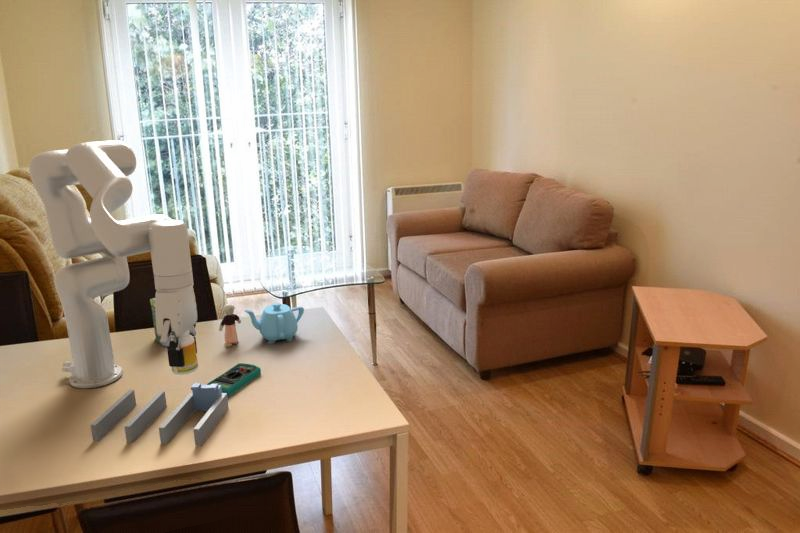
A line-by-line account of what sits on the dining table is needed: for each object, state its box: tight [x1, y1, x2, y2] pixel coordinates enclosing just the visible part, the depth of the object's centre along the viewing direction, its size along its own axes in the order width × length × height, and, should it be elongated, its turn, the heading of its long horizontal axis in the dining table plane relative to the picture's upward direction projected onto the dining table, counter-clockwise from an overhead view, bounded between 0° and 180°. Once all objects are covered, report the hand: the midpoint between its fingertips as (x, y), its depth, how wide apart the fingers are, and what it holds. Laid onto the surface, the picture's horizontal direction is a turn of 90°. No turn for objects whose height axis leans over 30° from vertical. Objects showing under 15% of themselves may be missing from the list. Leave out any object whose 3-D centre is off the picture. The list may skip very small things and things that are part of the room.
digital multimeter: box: [205, 362, 262, 399], centre depth 156 cm, size 7×15×3 cm, turn 158°
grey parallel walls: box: [89, 382, 229, 447], centre depth 136 cm, size 24×16×7 cm, turn 84°
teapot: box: [243, 302, 305, 344], centre depth 183 cm, size 13×14×11 cm
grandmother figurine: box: [218, 303, 242, 348], centre depth 180 cm, size 8×4×13 cm, turn 154°
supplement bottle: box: [170, 329, 199, 376], centre depth 129 cm, size 5×5×10 cm
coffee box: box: [149, 297, 165, 347], centre depth 182 cm, size 8×3×13 cm, turn 34°
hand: (183, 359), depth 130 cm, fingers closed on supplement bottle, 5 cm apart
